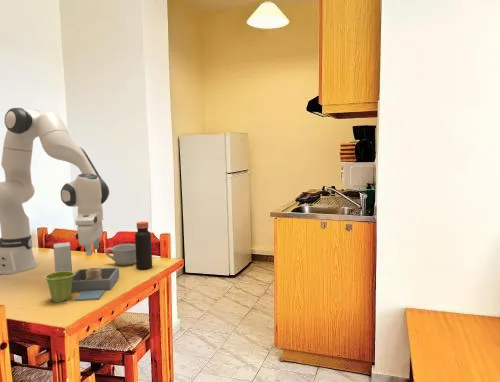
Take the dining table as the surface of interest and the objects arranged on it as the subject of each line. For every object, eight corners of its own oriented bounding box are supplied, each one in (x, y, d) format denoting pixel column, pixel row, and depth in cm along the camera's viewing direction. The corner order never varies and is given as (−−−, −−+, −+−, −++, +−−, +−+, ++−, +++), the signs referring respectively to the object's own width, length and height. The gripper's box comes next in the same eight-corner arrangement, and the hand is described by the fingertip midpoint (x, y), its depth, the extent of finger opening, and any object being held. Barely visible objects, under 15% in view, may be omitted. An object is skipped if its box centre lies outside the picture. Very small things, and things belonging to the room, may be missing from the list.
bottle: (135, 270, 180) (133, 224, 177) (137, 265, 186) (135, 221, 184) (151, 269, 181) (149, 223, 178) (152, 265, 187) (151, 220, 185)
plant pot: (52, 294, 151) (51, 271, 150) (79, 293, 152) (78, 270, 151) (42, 304, 142) (40, 279, 141) (70, 303, 143) (69, 278, 142)
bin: (66, 292, 154) (66, 281, 153) (79, 279, 169) (79, 269, 169) (110, 290, 155) (109, 279, 155) (119, 277, 171) (118, 267, 170)
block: (86, 286, 160) (85, 271, 159) (90, 283, 164) (89, 268, 163) (98, 286, 160) (98, 270, 159) (101, 282, 165) (101, 267, 164)
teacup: (141, 260, 195) (140, 243, 194) (132, 267, 184) (131, 249, 183) (112, 260, 196) (111, 243, 195) (102, 267, 186) (101, 249, 185)
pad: (75, 300, 145) (75, 299, 145) (82, 292, 153) (82, 291, 153) (99, 299, 146) (99, 297, 146) (104, 291, 154) (104, 290, 154)
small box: (72, 276, 172) (70, 245, 171) (55, 279, 169) (53, 247, 168) (71, 271, 179) (69, 241, 178) (55, 273, 177) (53, 243, 175)
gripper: (89, 212, 169) (91, 246, 171) (73, 221, 149) (76, 259, 150) (105, 211, 170) (107, 245, 171) (91, 220, 150) (94, 258, 151)
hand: (92, 252), depth 161 cm, fingers open, 8 cm apart
